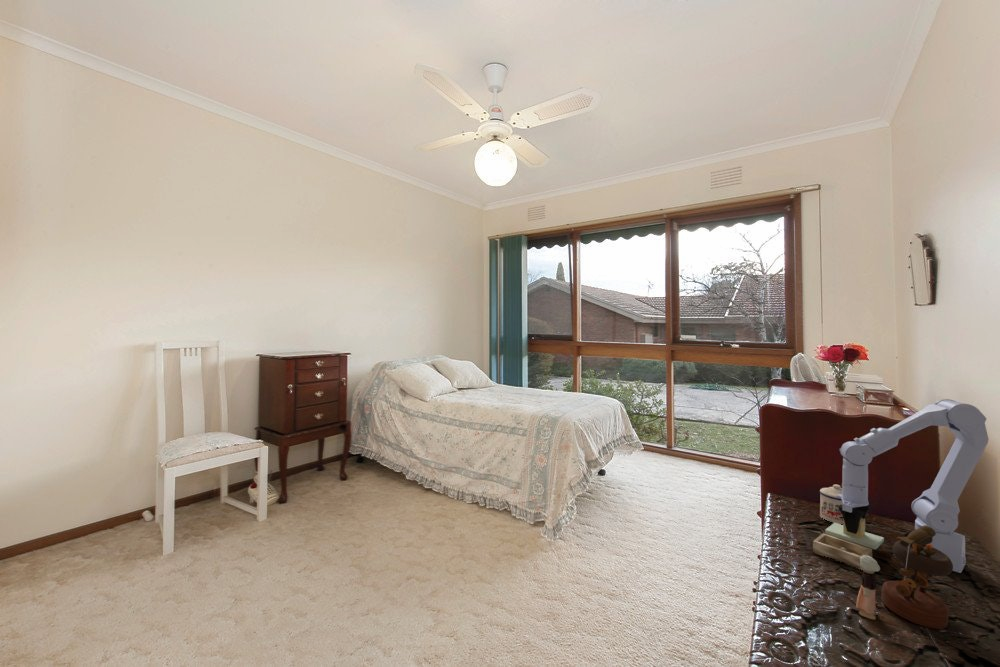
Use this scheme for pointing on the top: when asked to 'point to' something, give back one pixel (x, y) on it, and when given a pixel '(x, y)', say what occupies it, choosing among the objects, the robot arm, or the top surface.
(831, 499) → the teacup with lid
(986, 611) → the top surface
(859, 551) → the box
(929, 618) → the music box
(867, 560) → the grandmother figurine
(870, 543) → the lid
